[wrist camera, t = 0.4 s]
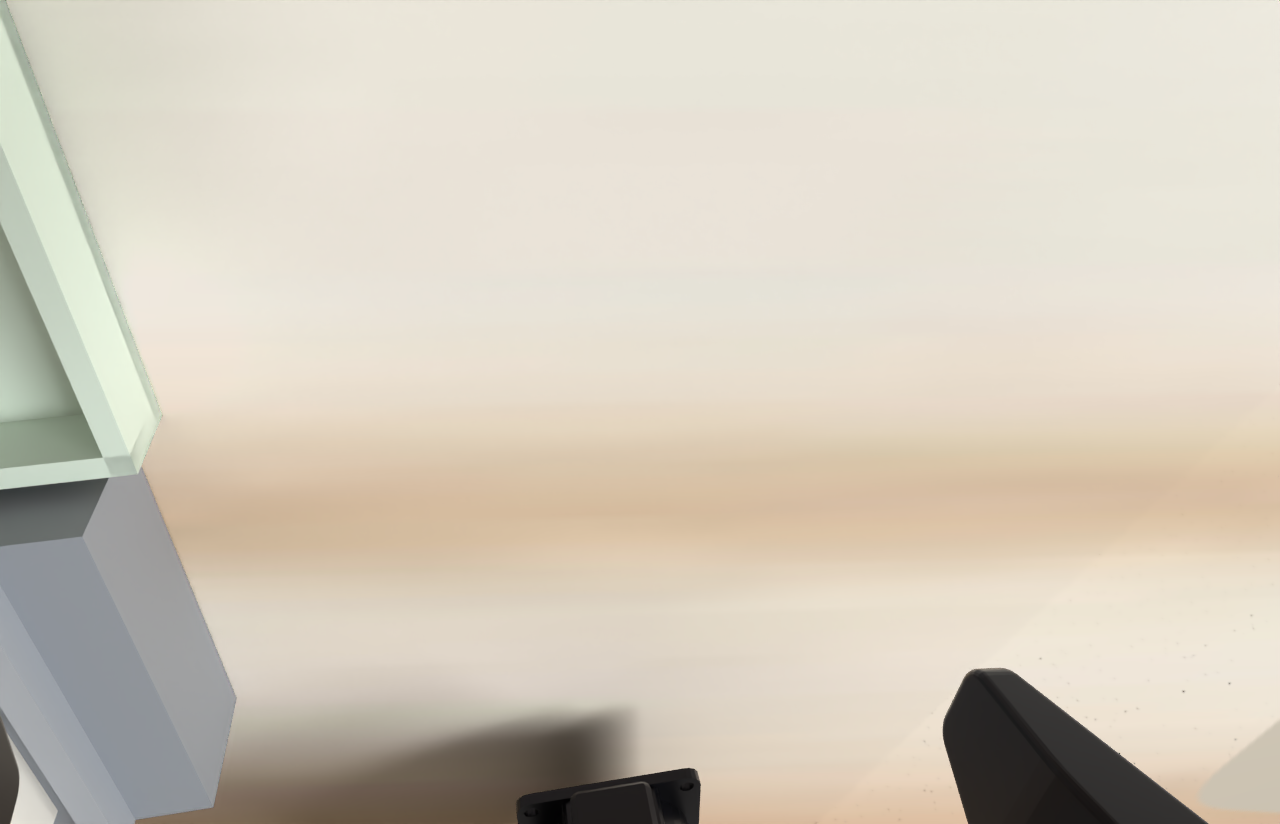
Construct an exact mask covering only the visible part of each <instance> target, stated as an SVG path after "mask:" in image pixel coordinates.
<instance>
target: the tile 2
mask: <svg viewBox="0 0 1280 824" xmlns="http://www.w3.org/2000/svg"><path fill="white" fill-rule="evenodd" d="M7 735H8V734H7ZM8 738H9V741H10V744H11V747H12V750H13V753H14V756H15V759H16V762H17V765H18V769H19V777H20V779H19V791H18V796H17V801H16V805H15V808H14V812H13V816H12V820H11V823H10V824H53V823H54V821H55V818H56V815H57V812H58V810H57V809H56V807H55V806H54V804H53V803H52V801H51V799H50V798H49V796H48V795H47V793H46V792H45V790H44V789H43V787H42V786H41V784H40V783H39V781H38V780H37V778H36V777H35V775H34V774H33V772H32V771H31V769H30V767H29V766H28V764H27V763H26V761H25V760H24V758H23V757H22V755H21V754H20V752H19V751H18V749H17V748H16V746H15V745H14V743H13V742H12V740H11V739H10V737H9V735H8Z"/></svg>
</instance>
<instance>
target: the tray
mask: <svg viewBox="0 0 1280 824" xmlns="http://www.w3.org/2000/svg"><path fill="white" fill-rule="evenodd" d="M161 417H162V413H161V410H160V408H159V405H158V402H157V400H156V397H155V394H154V392H153V389H152V386H151V384H150V381H149V378H148V376H147V373H146V370H145V368H144V365H143V363H142V360H141V357H140V355H139V352H138V349H137V347H136V344H135V341H134V339H133V336H132V333H131V331H130V328H129V325H128V323H127V320H126V318H125V315H124V312H123V310H122V307H121V304H120V302H119V299H118V296H117V294H116V291H115V288H114V286H113V283H112V280H111V278H110V275H109V273H108V270H107V267H106V265H105V262H104V259H103V257H102V254H101V251H100V249H99V246H98V243H97V241H96V238H95V235H94V233H93V230H92V228H91V225H90V222H89V220H88V217H87V214H86V212H85V209H84V206H83V204H82V201H81V198H80V196H79V193H78V190H77V188H76V185H75V182H74V180H73V177H72V175H71V172H70V169H69V167H68V164H67V161H66V159H65V156H64V153H63V151H62V148H61V145H60V143H59V140H58V137H57V135H56V132H55V130H54V127H53V124H52V122H51V119H50V116H49V114H48V111H47V108H46V106H45V103H44V100H43V98H42V95H41V92H40V90H39V87H38V85H37V82H36V79H35V77H34V74H33V71H32V69H31V66H30V63H29V61H28V58H27V55H26V53H25V50H24V47H23V45H22V42H21V40H20V37H19V34H18V32H17V29H16V26H15V24H14V21H13V18H12V16H11V13H10V10H9V8H8V5H7V2H6V0H0V490H1V489H10V488H19V487H28V486H37V485H46V484H55V483H64V482H73V481H82V480H91V479H100V478H109V477H118V476H127V475H136V474H138V473H139V470H140V468H141V466H142V463H143V461H144V458H145V456H146V453H147V451H148V449H149V446H150V444H151V441H152V439H153V437H154V434H155V432H156V429H157V427H158V425H159V422H160V420H161Z"/></svg>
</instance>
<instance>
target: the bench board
mask: <svg viewBox="0 0 1280 824" xmlns="http://www.w3.org/2000/svg"><path fill="white" fill-rule="evenodd" d="M236 699H237V698H236V696H235V693H234V691H233V689H232V686H231V684H230V681H229V679H228V676H227V674H226V671H225V669H224V667H223V664H222V662H221V659H220V657H219V654H218V652H217V649H216V647H215V645H214V642H213V640H212V637H211V635H210V632H209V630H208V628H207V625H206V623H205V620H204V618H203V615H202V613H201V610H200V608H199V606H198V603H197V601H196V598H195V596H194V593H193V591H192V588H191V586H190V584H189V581H188V579H187V576H186V574H185V571H184V569H183V567H182V564H181V562H180V559H179V557H178V554H177V552H176V549H175V547H174V545H173V542H172V540H171V537H170V535H169V532H168V530H167V527H166V525H165V523H164V520H163V518H162V515H161V513H160V510H159V508H158V506H157V503H156V501H155V498H154V496H153V493H152V491H151V488H150V486H149V484H148V481H147V479H146V476H145V474H144V471H143V469H142V466H141V468H140V470H139V473H138V474H136V475H127V476H118V477H109V478H100V479H91V480H82V481H73V482H64V483H55V484H46V485H37V486H28V487H19V488H10V489H1V490H0V716H1V718H2V720H3V723H4V726H5V729H6V732H7V734H8V735H9V737H10V739H11V740H12V742H13V743H14V745H15V746H16V748H17V749H18V751H19V752H20V754H21V755H22V757H23V758H24V760H25V761H26V763H27V764H28V766H29V767H30V769H31V771H32V772H33V774H34V775H35V777H36V778H37V780H38V781H39V783H40V784H41V786H42V787H43V789H44V790H45V792H46V793H47V795H48V796H49V798H50V799H51V801H52V803H53V804H54V806H55V807H56V809H57V810H58V812H57V815H56V818H55V821H54V823H53V824H135V820H138V819H144V818H150V817H157V816H163V815H169V814H175V813H182V812H188V811H194V810H201V809H207V808H213V807H214V802H215V797H216V793H217V788H218V783H219V779H220V774H221V769H222V764H223V760H224V755H225V750H226V746H227V741H228V736H229V732H230V727H231V722H232V717H233V713H234V708H235V703H236Z"/></svg>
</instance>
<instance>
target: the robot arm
mask: <svg viewBox="0 0 1280 824" xmlns="http://www.w3.org/2000/svg"><path fill="white" fill-rule="evenodd" d="M943 739H944V744H945V747H946V751H947V754H948V758H949V761H950V764H951V768H952V771H953V774H954V778H955V781H956V784H957V788H958V791H959V794H960V798H961V801H962V804H963V808H964V811H965V814H966V818H967V821H968V824H1208V823H1207V822H1206V821H1204V820H1203V819H1202V818H1201V817H1199V816H1198V815H1197V814H1195V813H1194V812H1193V811H1192V810H1190V809H1189V808H1188V807H1186V806H1185V805H1184V804H1183V803H1181V802H1180V801H1179V800H1177V799H1176V798H1175V797H1174V796H1172V795H1171V794H1170V793H1168V792H1167V791H1166V790H1165V789H1163V788H1162V787H1161V786H1159V785H1158V784H1157V783H1156V782H1154V781H1153V780H1152V779H1151V778H1149V777H1148V776H1147V775H1145V774H1144V773H1143V772H1142V771H1140V770H1139V769H1138V768H1136V767H1135V766H1134V765H1133V764H1131V763H1130V762H1129V761H1127V760H1126V759H1125V758H1124V757H1122V756H1121V755H1120V754H1118V753H1117V752H1116V751H1115V750H1113V749H1112V748H1111V747H1110V746H1108V745H1107V744H1106V743H1104V742H1103V741H1102V740H1101V739H1099V738H1098V737H1097V736H1095V735H1094V734H1093V733H1092V732H1090V731H1089V730H1088V729H1086V728H1085V727H1084V726H1083V725H1081V724H1080V723H1079V722H1077V721H1076V720H1075V719H1074V718H1072V717H1071V716H1070V715H1068V714H1067V713H1066V712H1065V711H1063V710H1062V709H1061V708H1060V707H1058V706H1057V705H1056V704H1054V703H1053V702H1052V701H1051V700H1049V699H1048V698H1047V697H1045V696H1044V695H1043V694H1042V693H1040V692H1039V691H1038V690H1036V689H1035V688H1034V687H1033V686H1031V685H1030V684H1029V683H1027V682H1026V681H1025V680H1024V679H1022V678H1021V677H1020V676H1018V675H1017V674H1016V673H1014V672H1013V671H1011V670H1008V669H1005V668H986V669H974V670H971V671H970V672H968V673H967V674H966V676H965V677H964V679H963V681H962V683H961V685H960V687H959V689H958V691H957V693H956V695H955V697H954V699H953V701H952V703H951V705H950V707H949V709H948V711H947V713H946V715H945V718H944V722H943ZM19 779H20V777H19V769H18V765H17V762H16V759H15V756H14V753H13V750H12V747H11V744H10V741H9V738H8V735H7V732H6V729H5V726H4V723H3V720H2V718H1V716H0V824H10V823H11V820H12V816H13V812H14V808H15V805H16V801H17V796H18V791H19ZM700 786H701V784H700V780H699V776H698V773H697V771H696V770H695V769H691V768H684V769H678V770H672V771H666V772H660V773H654V774H648V775H642V776H636V777H630V778H623V779H617V780H611V781H605V782H599V783H593V784H587V785H581V786H575V787H569V788H563V789H557V790H551V791H544V792H538V793H532V794H528V795H524V796H522V797H521V798H519V799H518V800H517V802H516V810H517V819H518V824H699V807H700Z"/></svg>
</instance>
